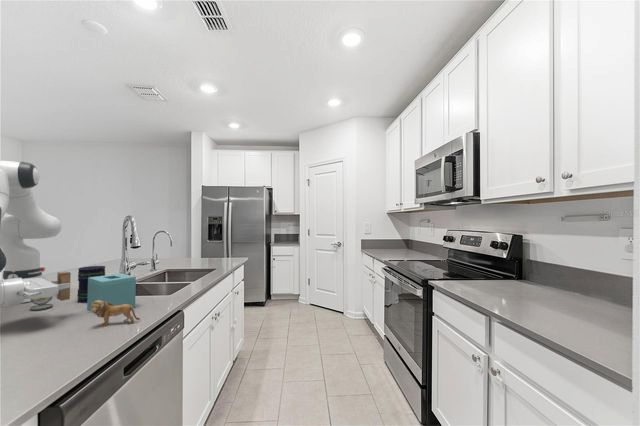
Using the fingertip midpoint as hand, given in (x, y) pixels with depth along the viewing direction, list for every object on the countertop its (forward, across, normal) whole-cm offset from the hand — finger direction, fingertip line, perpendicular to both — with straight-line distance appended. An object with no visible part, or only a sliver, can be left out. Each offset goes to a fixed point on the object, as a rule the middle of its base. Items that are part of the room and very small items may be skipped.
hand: (66, 283), depth 107 cm
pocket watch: (-2, +22, +13) cm, 26 cm away
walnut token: (-1, 0, +6) cm, 6 cm away
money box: (+14, -3, +13) cm, 19 cm away
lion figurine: (+7, -24, +12) cm, 28 cm away
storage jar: (+14, +19, +13) cm, 27 cm away
